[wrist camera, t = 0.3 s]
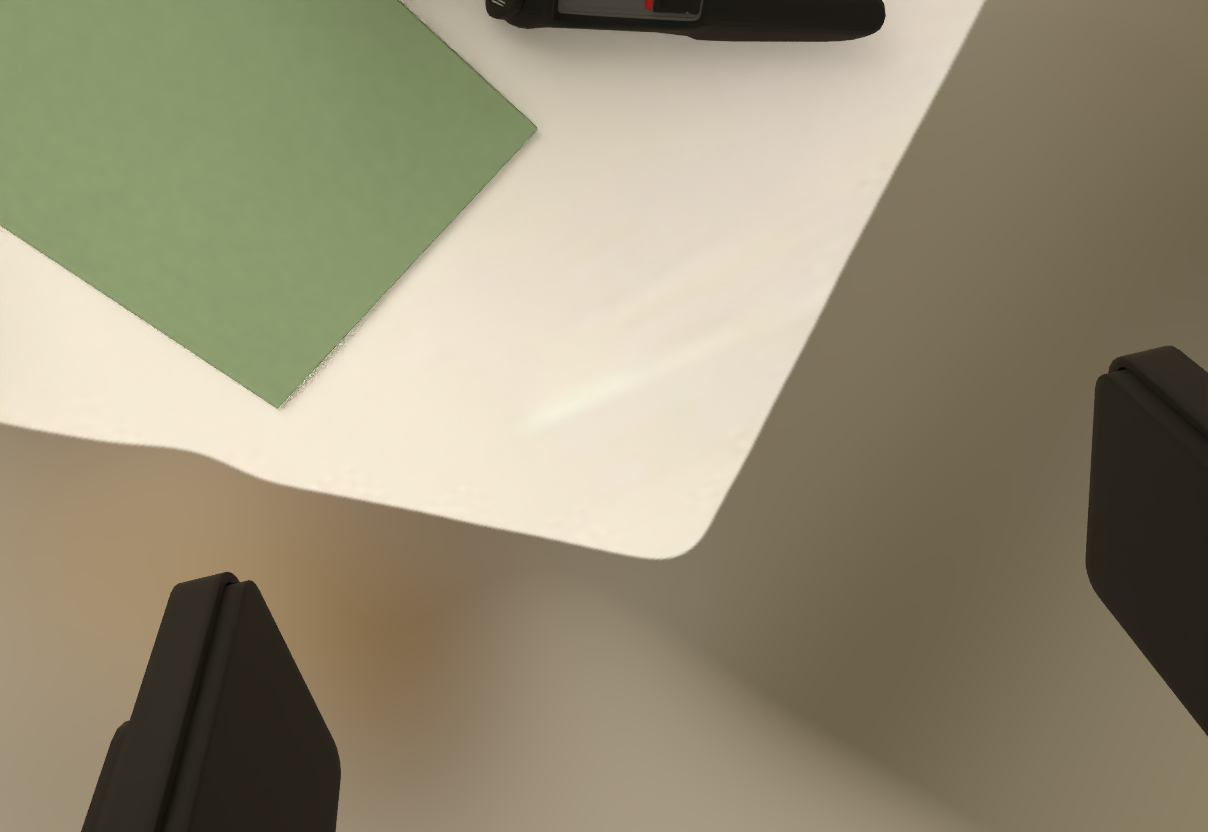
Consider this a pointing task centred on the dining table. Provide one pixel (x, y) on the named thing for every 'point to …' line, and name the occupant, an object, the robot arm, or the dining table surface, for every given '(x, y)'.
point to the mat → (241, 162)
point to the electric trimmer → (704, 17)
